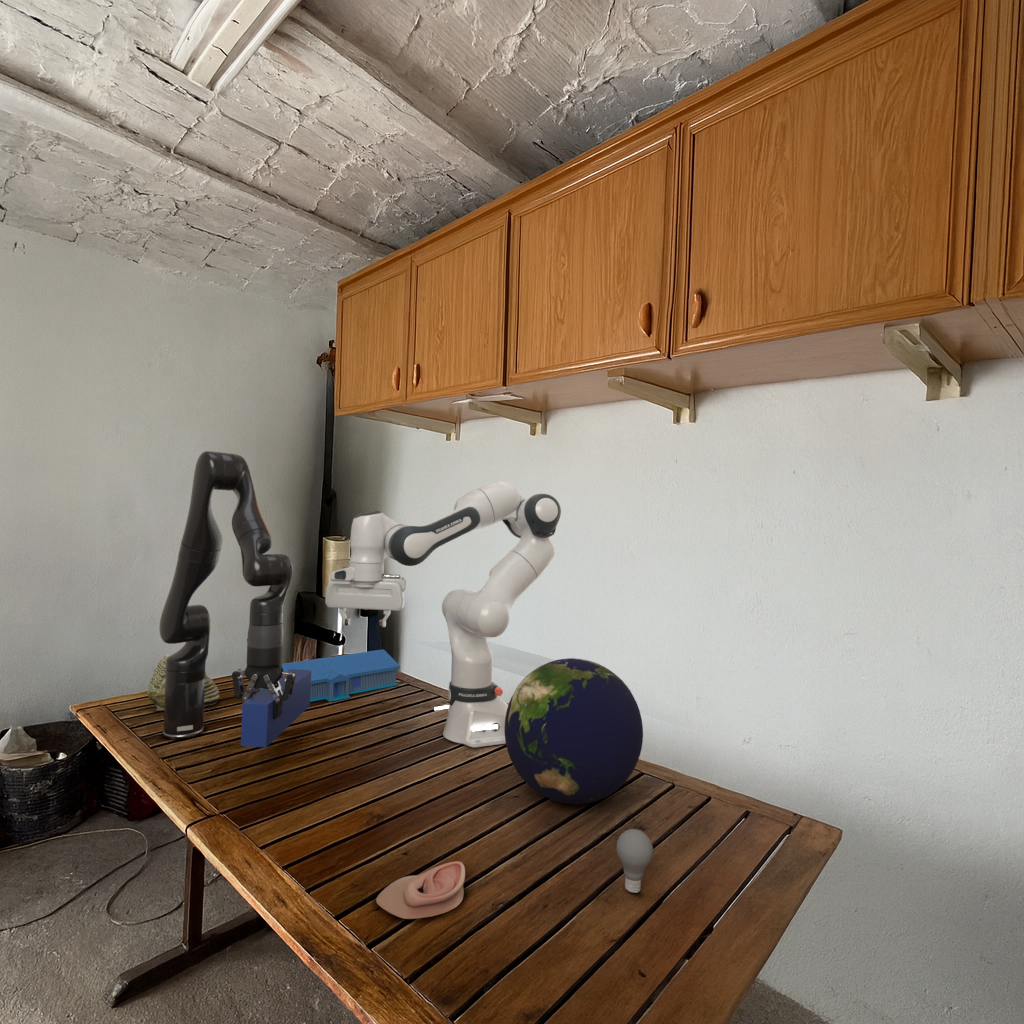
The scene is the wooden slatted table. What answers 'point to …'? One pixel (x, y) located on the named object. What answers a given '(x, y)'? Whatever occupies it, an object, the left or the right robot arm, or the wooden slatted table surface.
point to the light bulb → (634, 857)
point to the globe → (573, 731)
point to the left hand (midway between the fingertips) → (262, 717)
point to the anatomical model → (425, 892)
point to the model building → (348, 674)
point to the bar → (259, 711)
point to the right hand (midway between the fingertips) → (364, 625)
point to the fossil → (158, 687)
